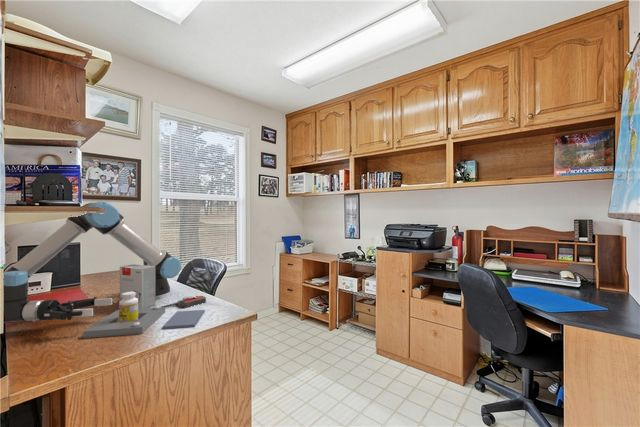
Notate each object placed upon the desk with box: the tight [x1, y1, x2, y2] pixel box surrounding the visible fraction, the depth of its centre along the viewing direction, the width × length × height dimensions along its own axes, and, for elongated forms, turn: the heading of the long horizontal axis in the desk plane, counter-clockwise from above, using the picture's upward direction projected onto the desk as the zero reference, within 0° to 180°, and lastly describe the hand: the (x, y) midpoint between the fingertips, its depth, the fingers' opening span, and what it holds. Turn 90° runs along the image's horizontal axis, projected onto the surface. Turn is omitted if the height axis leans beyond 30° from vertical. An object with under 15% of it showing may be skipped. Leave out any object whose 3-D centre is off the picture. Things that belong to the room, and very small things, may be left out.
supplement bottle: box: [118, 292, 139, 322], centre depth 118 cm, size 7×7×13 cm
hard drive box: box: [119, 264, 156, 309], centre depth 141 cm, size 16×8×20 cm, turn 72°
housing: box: [82, 305, 166, 339], centre depth 118 cm, size 24×20×4 cm
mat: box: [161, 309, 206, 330], centre depth 122 cm, size 18×12×1 cm, turn 10°
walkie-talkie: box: [161, 295, 207, 309], centre depth 141 cm, size 9×4×20 cm
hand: (102, 306), depth 116 cm, fingers open, 13 cm apart
